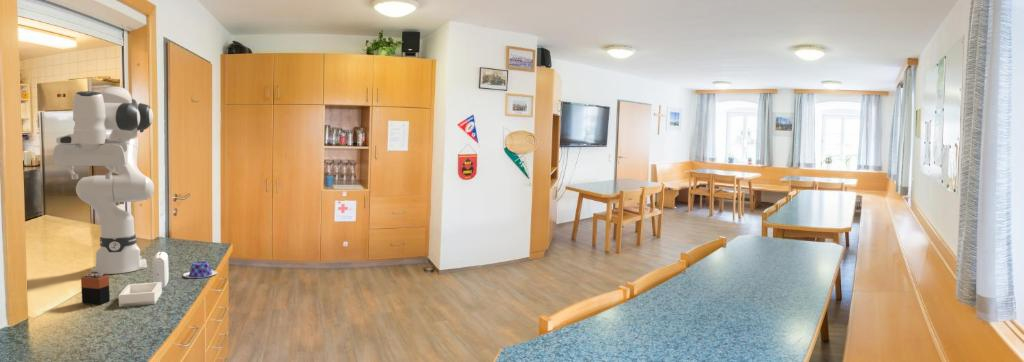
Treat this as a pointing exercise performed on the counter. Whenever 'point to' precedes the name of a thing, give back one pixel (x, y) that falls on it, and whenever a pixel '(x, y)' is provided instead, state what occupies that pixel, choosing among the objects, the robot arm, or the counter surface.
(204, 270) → the pudding
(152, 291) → the trough
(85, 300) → the battery
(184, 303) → the counter surface
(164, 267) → the photo printer
